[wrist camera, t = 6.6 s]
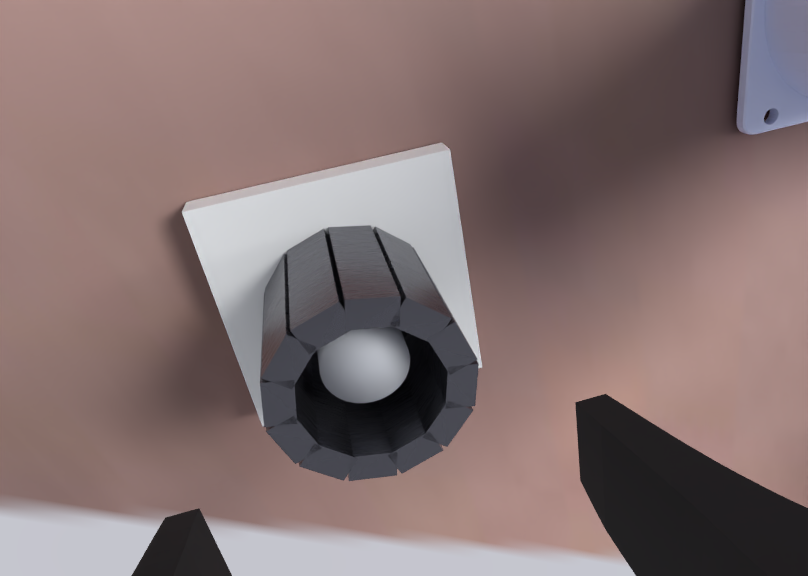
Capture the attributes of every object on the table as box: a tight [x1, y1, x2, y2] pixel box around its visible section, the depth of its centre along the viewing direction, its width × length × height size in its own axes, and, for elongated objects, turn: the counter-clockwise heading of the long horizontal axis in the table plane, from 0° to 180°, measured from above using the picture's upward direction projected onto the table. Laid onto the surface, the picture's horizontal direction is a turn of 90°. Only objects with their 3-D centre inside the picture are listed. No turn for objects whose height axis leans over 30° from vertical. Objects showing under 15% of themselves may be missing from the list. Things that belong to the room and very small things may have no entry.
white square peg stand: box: [182, 143, 482, 427], centre depth 18 cm, size 8×8×5 cm
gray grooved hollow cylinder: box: [260, 225, 479, 481], centre depth 17 cm, size 5×5×5 cm
